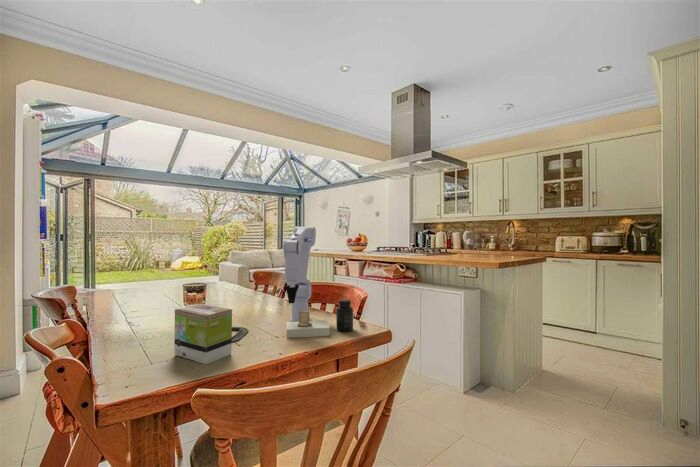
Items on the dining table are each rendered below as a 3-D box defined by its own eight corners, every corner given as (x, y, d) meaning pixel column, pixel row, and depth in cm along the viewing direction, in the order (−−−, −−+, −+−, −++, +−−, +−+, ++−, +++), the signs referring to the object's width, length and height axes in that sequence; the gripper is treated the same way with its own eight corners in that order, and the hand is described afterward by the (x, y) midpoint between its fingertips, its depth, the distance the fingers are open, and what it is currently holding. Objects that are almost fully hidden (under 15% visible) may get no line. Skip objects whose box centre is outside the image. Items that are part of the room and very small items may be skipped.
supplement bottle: (353, 328, 136) (354, 298, 136) (352, 332, 129) (352, 302, 129) (337, 327, 137) (337, 298, 137) (335, 332, 130) (335, 301, 130)
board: (286, 329, 133) (286, 322, 133) (325, 327, 136) (326, 320, 136) (286, 337, 122) (286, 329, 122) (329, 335, 125) (329, 327, 125)
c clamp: (230, 348, 112) (231, 340, 112) (182, 346, 113) (182, 338, 113) (254, 331, 132) (254, 324, 132) (212, 329, 133) (212, 322, 133)
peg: (298, 331, 130) (299, 311, 130) (309, 331, 131) (309, 310, 131) (298, 334, 126) (298, 313, 126) (309, 334, 127) (309, 313, 127)
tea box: (172, 356, 102) (173, 308, 102) (200, 346, 111) (201, 302, 111) (205, 365, 95) (206, 314, 95) (232, 354, 104) (233, 307, 104)
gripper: (282, 268, 141) (281, 300, 140) (282, 271, 127) (281, 306, 126) (298, 268, 142) (298, 299, 142) (300, 271, 128) (300, 306, 128)
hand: (291, 302), depth 134 cm, fingers closed
